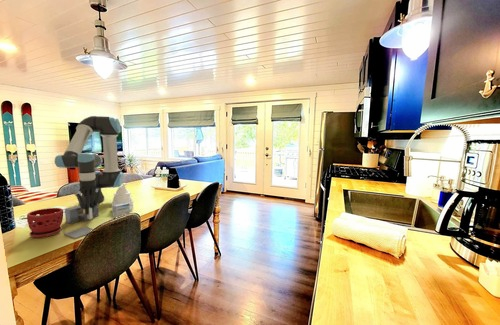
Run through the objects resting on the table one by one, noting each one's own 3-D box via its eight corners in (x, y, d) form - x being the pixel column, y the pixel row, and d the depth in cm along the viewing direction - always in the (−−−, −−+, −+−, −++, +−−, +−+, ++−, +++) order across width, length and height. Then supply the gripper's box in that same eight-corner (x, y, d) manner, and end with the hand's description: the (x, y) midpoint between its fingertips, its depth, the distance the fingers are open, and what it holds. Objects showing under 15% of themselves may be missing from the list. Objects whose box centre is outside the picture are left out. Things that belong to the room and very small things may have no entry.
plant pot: (50, 239, 101) (48, 215, 100) (20, 240, 100) (18, 215, 99) (70, 228, 114) (69, 206, 113) (45, 228, 113) (43, 206, 112)
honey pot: (127, 205, 154) (126, 181, 152) (137, 208, 148) (136, 183, 146) (108, 210, 143) (106, 184, 141) (118, 214, 137) (116, 187, 135)
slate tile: (86, 227, 116) (86, 226, 116) (97, 231, 111) (97, 230, 111) (64, 234, 107) (64, 233, 107) (75, 239, 102) (75, 237, 102)
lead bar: (83, 216, 131) (83, 212, 131) (92, 219, 127) (92, 215, 127) (75, 219, 128) (75, 214, 127) (85, 222, 124) (84, 217, 123)
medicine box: (116, 220, 126) (116, 206, 125) (113, 219, 128) (112, 205, 127) (130, 216, 133) (129, 203, 132) (126, 215, 135) (125, 202, 134)
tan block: (79, 215, 133) (78, 207, 133) (83, 216, 131) (83, 208, 131) (71, 217, 129) (70, 209, 129) (75, 218, 127) (74, 210, 127)
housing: (94, 214, 135) (93, 202, 134) (98, 215, 133) (98, 203, 132) (65, 222, 122) (64, 208, 121) (70, 223, 120) (69, 210, 119)
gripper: (95, 177, 129) (97, 214, 132) (70, 180, 117) (73, 221, 120) (103, 178, 126) (105, 216, 129) (78, 182, 114) (80, 223, 117)
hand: (89, 218), depth 124 cm, fingers closed
